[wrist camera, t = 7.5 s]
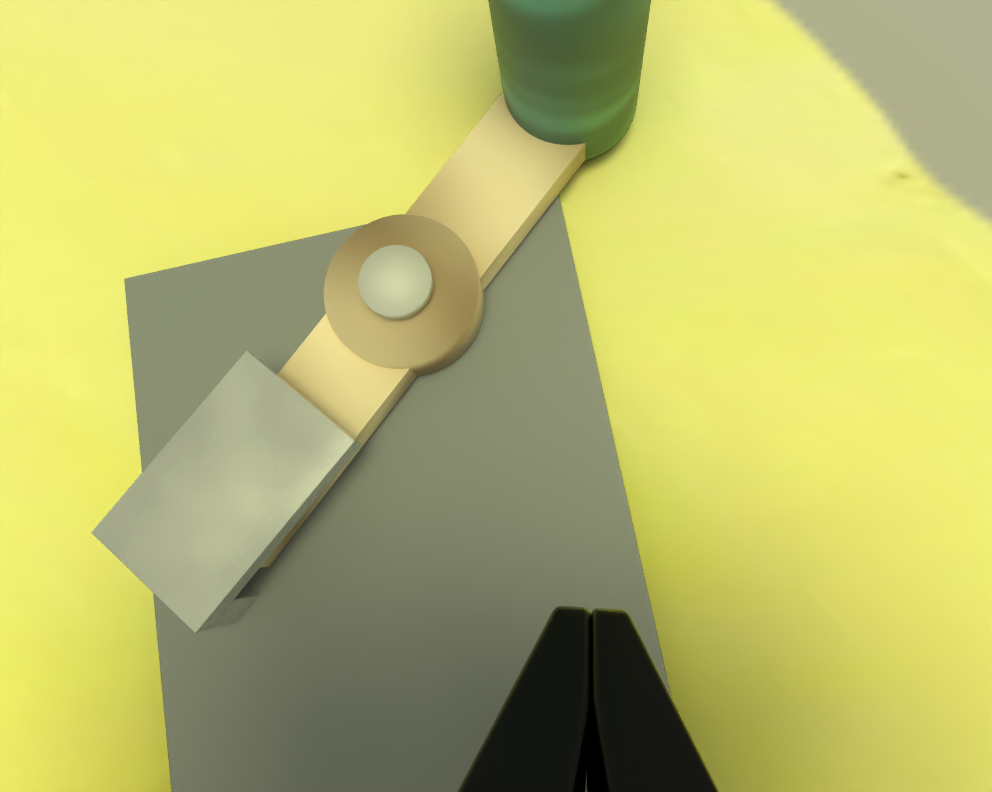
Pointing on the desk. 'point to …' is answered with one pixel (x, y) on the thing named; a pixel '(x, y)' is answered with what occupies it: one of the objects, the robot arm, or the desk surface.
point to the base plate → (392, 524)
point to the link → (475, 206)
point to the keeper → (225, 494)
